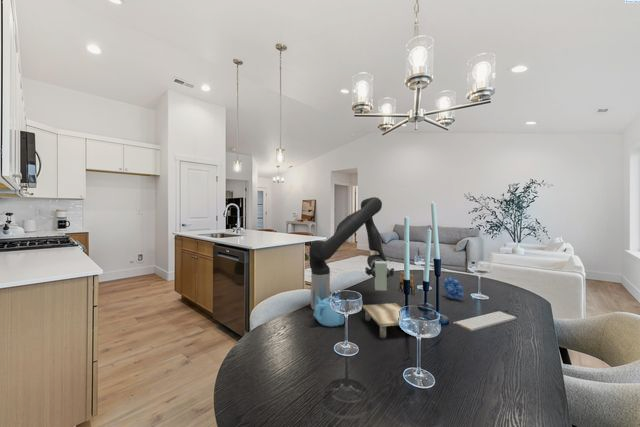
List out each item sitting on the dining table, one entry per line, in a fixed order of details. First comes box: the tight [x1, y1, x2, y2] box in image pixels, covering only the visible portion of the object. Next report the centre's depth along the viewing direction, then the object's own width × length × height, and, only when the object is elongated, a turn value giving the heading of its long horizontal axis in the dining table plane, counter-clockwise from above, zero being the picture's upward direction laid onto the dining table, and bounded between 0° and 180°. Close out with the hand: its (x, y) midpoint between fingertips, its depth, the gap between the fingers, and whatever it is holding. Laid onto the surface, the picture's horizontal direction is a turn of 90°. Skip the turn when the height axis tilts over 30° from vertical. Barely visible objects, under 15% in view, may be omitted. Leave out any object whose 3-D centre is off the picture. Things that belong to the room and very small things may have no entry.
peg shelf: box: [361, 302, 402, 339], centre depth 113 cm, size 16×20×6 cm
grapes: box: [442, 276, 465, 301], centre depth 147 cm, size 12×7×12 cm, turn 34°
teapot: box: [313, 295, 345, 328], centre depth 118 cm, size 15×15×11 cm
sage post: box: [374, 260, 388, 292], centre depth 121 cm, size 5×5×12 cm
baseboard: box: [453, 309, 517, 332], centre depth 120 cm, size 30×3×10 cm
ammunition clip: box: [398, 270, 416, 295], centre depth 159 cm, size 11×2×12 cm, turn 26°
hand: (381, 275), depth 119 cm, fingers closed on sage post, 5 cm apart
